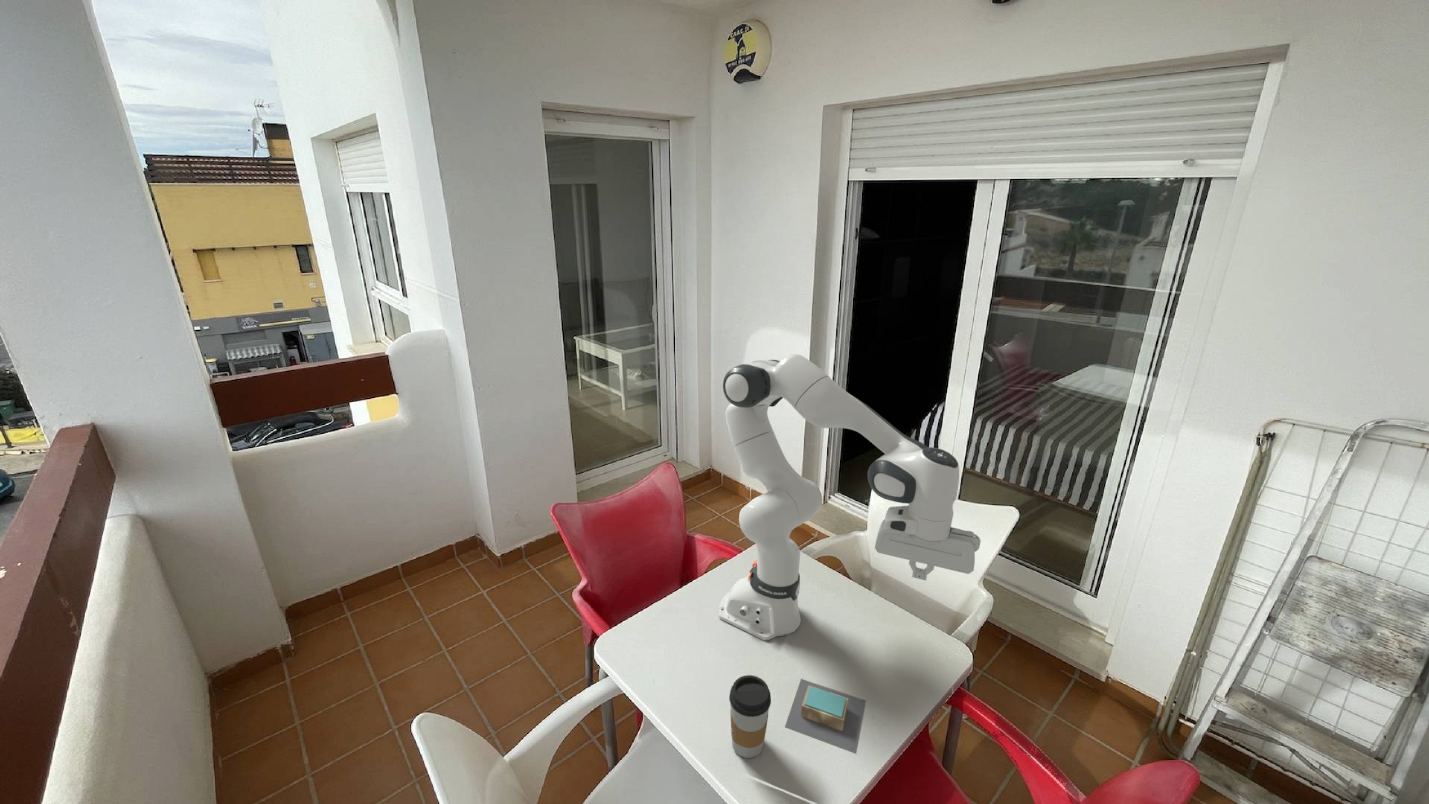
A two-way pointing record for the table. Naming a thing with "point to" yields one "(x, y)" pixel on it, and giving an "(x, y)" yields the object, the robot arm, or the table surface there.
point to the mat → (823, 732)
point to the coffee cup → (749, 715)
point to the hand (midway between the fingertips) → (919, 577)
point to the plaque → (824, 707)
